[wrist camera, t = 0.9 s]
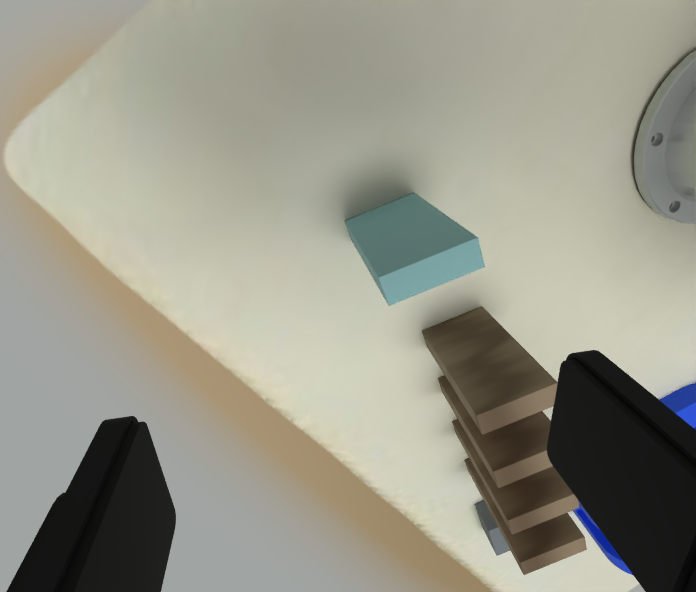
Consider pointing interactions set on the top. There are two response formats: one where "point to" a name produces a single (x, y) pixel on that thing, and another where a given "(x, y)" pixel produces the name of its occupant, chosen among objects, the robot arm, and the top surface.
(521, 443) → the tile
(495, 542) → the block
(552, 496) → the tile
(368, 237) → the tile
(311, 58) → the top surface
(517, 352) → the tile
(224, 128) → the top surface
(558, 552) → the tile
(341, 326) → the top surface
